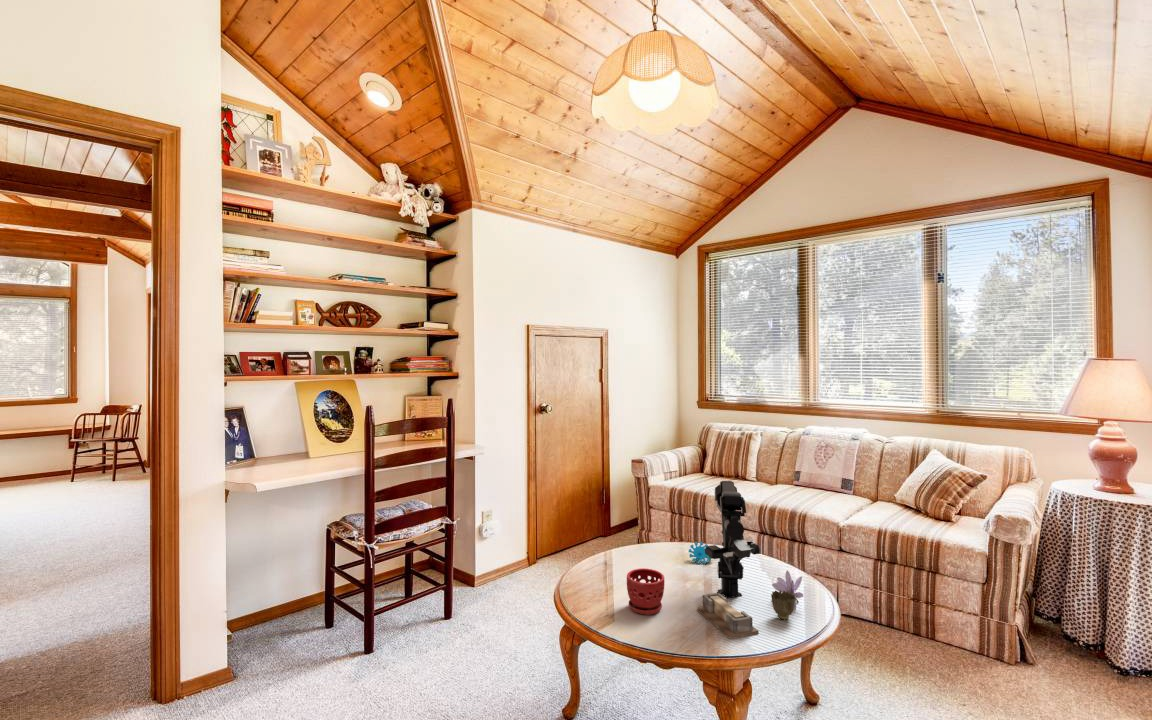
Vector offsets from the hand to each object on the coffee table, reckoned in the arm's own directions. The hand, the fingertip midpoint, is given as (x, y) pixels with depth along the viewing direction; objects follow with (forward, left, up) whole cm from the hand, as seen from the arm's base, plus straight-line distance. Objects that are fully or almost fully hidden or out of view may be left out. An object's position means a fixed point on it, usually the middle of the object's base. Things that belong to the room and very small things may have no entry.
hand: (732, 574), depth 188 cm
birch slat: (+7, -7, -11) cm, 15 cm away
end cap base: (+7, -7, -12) cm, 16 cm away
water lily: (+2, +20, -12) cm, 24 cm away
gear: (-45, +13, -12) cm, 48 cm away
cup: (+11, +12, -12) cm, 20 cm away
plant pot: (-9, -29, -12) cm, 33 cm away
